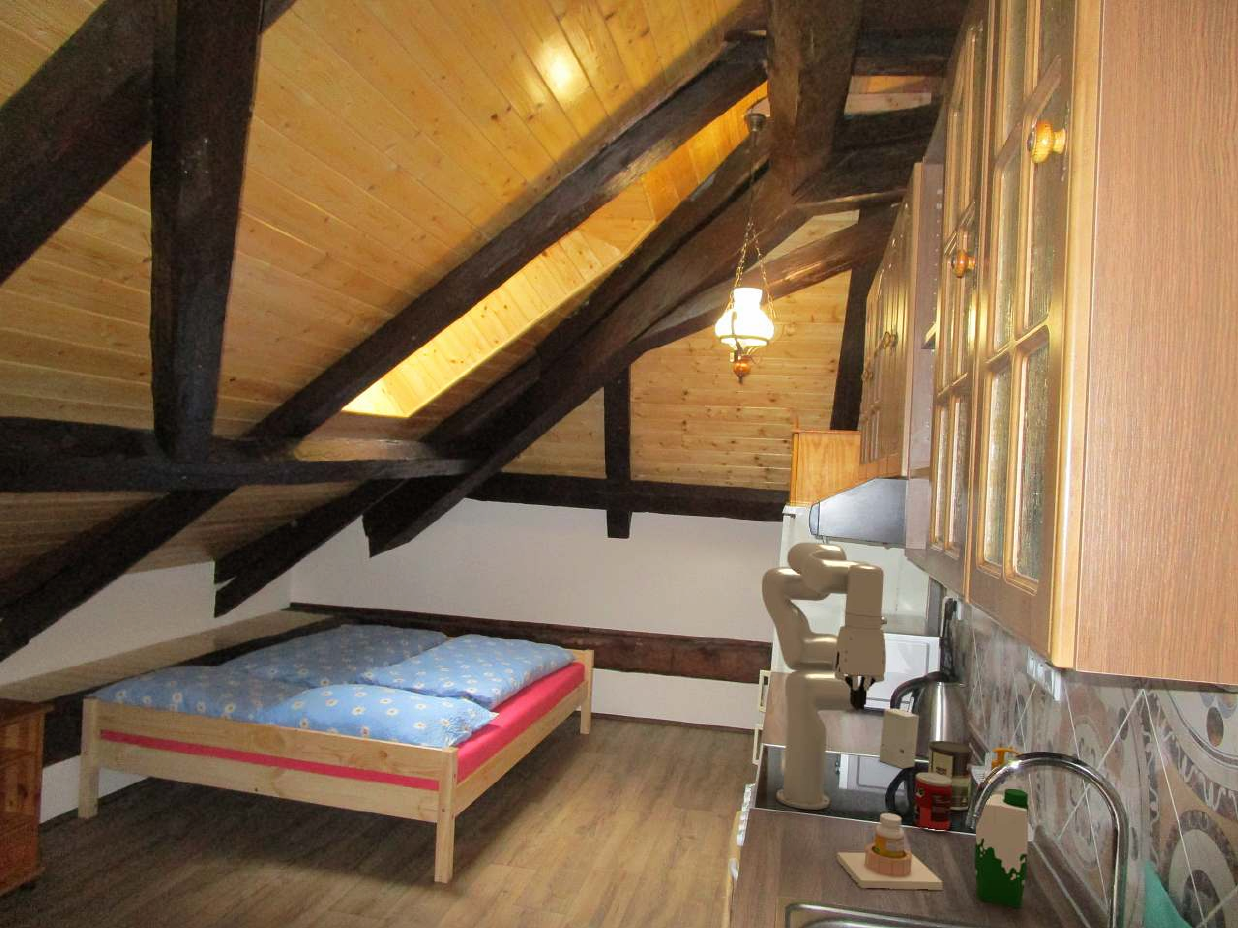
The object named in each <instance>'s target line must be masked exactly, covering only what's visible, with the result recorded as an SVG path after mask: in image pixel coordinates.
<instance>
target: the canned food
mask: <svg viewBox="0 0 1238 928" xmlns="http://www.w3.org/2000/svg"><path fill="white" fill-rule="evenodd" d="M914 782H915V788H914V805H913V822H914V824H915V825H916V826H917V827H918V828H920V827H922V828H928V829H935V830H947V831H949V829H950V827H951V812H952V811H951V795H952V780H951V779H949V778H948V777H945V776H943V775H939V774H934V773H928V772H918V773H917V774H915V781H914ZM922 828H921V829H922Z"/></svg>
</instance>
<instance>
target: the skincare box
mask: <svg viewBox="0 0 1238 928" xmlns="http://www.w3.org/2000/svg"><path fill="white" fill-rule="evenodd" d="M882 719H883V721H882V729H881V741H880V750H879V762H881V763H885V764H888V765H890V766H894V767H897V768H900V769H908V768H913V767H915V764H916V763H915V762H916V761H915V760H916V752H917V751H916V750H917V743H918V731H919V723H920V721H919V720H920V715H918V714H916V713H915V714H914V713H912V712H909V711H906V710H903V709H899V708H886V709H884V712H883V718H882Z"/></svg>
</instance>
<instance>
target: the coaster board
mask: <svg viewBox="0 0 1238 928" xmlns="http://www.w3.org/2000/svg"><path fill="white" fill-rule="evenodd" d="M865 853H866V852H836V861H837V863H838V864H839V865H840V866H841V867H842V866H843V867H844V868H845V869H846V870H847V871H846V870H845V869H844V868H843V867H842V868H843V869H844V870H845V871H846V872H847V874H848V873H849V874H850V875H851V876H852V877H851V876H850V875H849V874H848V875H849V876H850V877H851V878H852V880H853V881H854V880H855V881H856V882H857V883H858V884H857V883H856V882H855V881H854V882H855V883H856V884H857V885H858V886H859V885H860V886H861V887H878V888H879V887H880V888H885V889H884V890H917V889H928V891H929V890H930V891H934V890H935V891H942V890H943V881H942V880H941V879H940V878H938V876H937V875H936V874H935V873H934V872H932V871H931V870H930V869H929V868H928V867H927V866H926V865H925V864H924V863H923V862H921V861H920V860H919V858H917V857H916V856H915V855H914V854H913V853H912V870H911V873H910V874H909V875H905V876H889V875H885V874H880V873H878V872H875V871H873V870H871V869H869V868H868V867H867V866H866V865H865ZM860 886H859V887H860ZM886 888H887V889H886ZM888 888H889V889H888ZM913 888H914V889H913Z"/></svg>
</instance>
